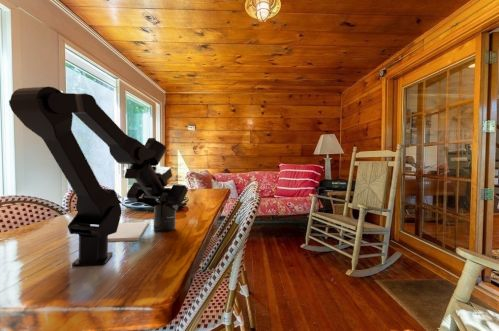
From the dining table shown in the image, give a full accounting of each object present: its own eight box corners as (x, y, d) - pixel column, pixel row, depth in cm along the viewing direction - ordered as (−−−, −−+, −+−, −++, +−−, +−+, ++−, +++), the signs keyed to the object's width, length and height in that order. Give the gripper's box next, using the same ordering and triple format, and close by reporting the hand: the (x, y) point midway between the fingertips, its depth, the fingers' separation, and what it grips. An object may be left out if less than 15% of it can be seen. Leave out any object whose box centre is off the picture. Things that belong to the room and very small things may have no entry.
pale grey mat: (138, 240, 76) (138, 237, 76) (91, 241, 73) (91, 239, 73) (148, 224, 93) (148, 222, 93) (111, 225, 91) (111, 223, 91)
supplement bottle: (171, 232, 84) (172, 194, 84) (150, 231, 85) (150, 194, 84) (178, 227, 91) (178, 191, 91) (158, 226, 91) (158, 191, 91)
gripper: (185, 158, 81) (201, 191, 92) (133, 157, 86) (154, 188, 97) (170, 187, 73) (189, 218, 84) (114, 183, 79) (139, 213, 90)
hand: (167, 208), depth 89 cm, fingers closed on supplement bottle, 7 cm apart
